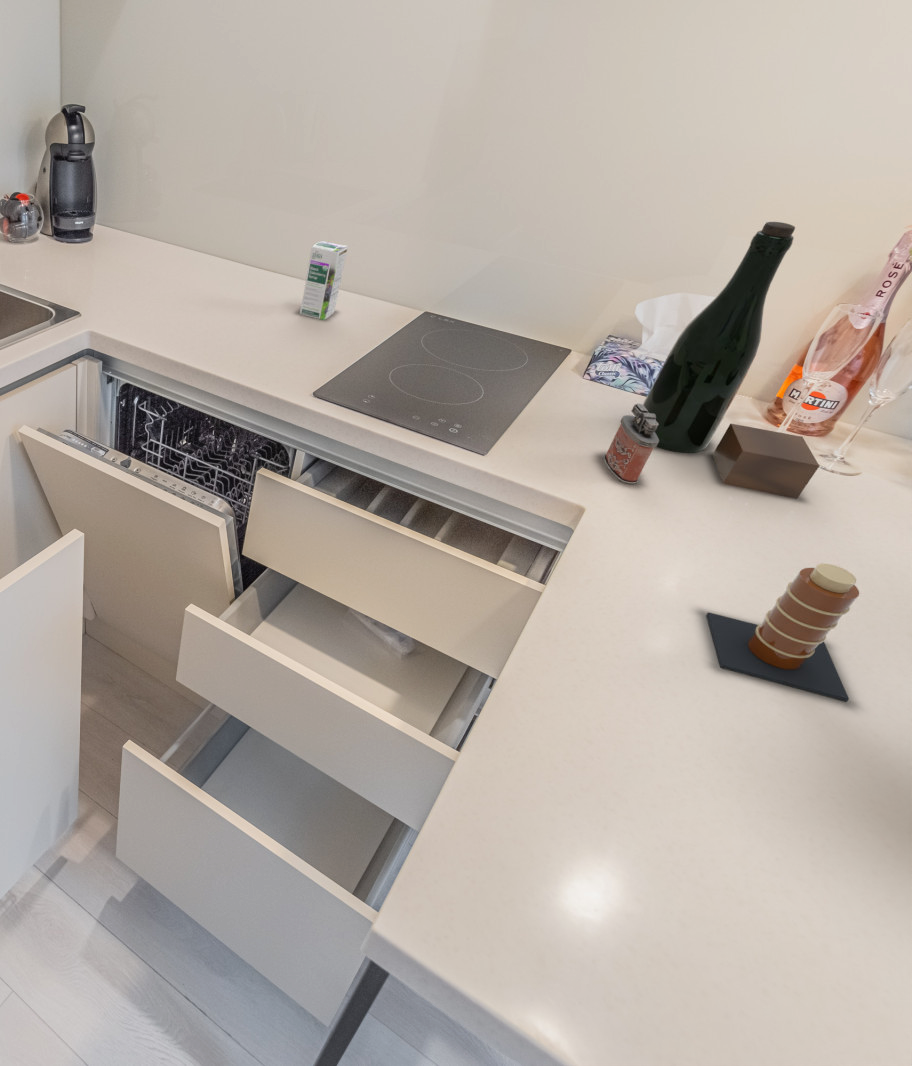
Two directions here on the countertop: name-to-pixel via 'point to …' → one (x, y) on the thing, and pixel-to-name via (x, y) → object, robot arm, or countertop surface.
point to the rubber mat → (739, 658)
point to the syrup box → (323, 279)
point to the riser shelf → (764, 460)
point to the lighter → (632, 445)
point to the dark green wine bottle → (716, 349)
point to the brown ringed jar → (804, 616)
